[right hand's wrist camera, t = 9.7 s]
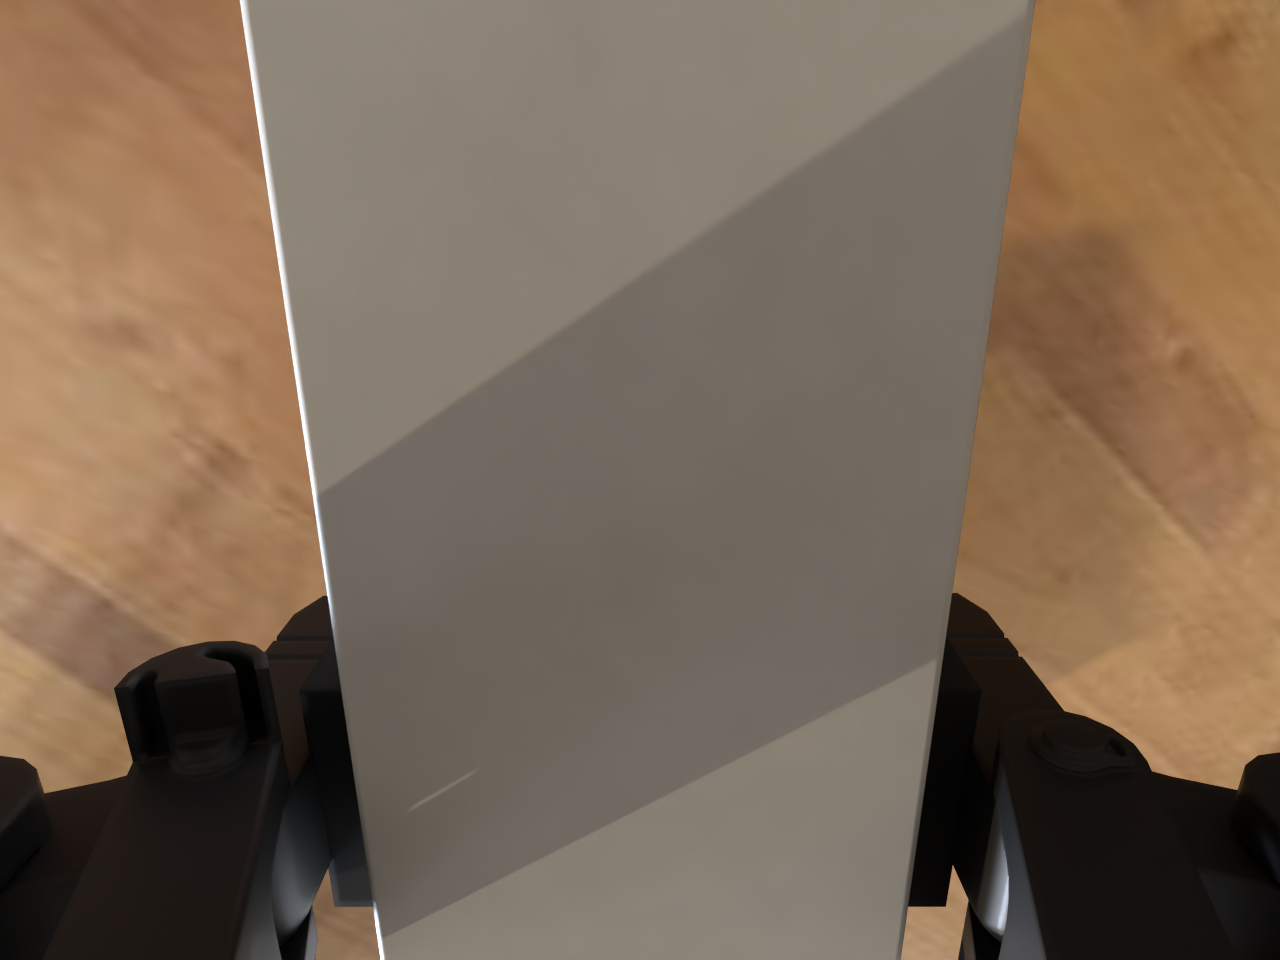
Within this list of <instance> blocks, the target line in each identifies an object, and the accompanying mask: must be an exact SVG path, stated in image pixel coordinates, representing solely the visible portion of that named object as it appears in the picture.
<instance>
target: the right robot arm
mask: <svg viewBox="0 0 1280 960" xmlns="http://www.w3.org/2000/svg"><path fill="white" fill-rule="evenodd" d="M114 690H115V694H116V698H117V702H118V706H119V709H120V713H121V717H122V721H123V725H124V729H125V733H126V736H127V740H128V744H129V748H130V752H131V756H132V760H133V764H132V766H131V768H130V770H129V772H128V774H127V776H123V777H120V778H116V779H112V780H108V781H104V782H99V783H94V784H89V785H84V786H79V787H74V788H69V789H65V790H60V791H55V792H50V793H45V794H44V792H43V788H42V785H41V782H40V779H39V775H38V772H37V769H36V768H35V767H33V766H32V765H31V764H29V763H28V762H27V761H26V760H24V759H19V758H12V757H5V756H0V960H315V957H316V949H317V940H318V938H317V931H316V924H315V918H314V912H313V907H312V903H313V901H314V898H315V896H316V894H317V892H318V889H319V887H320V885H321V883H322V880H323V878H324V876H325V874H326V871H327V869H328V868H329V874H330V880H331V886H332V892H333V898H334V904H335V907H373V902H372V895H371V889H370V882H369V875H368V868H367V861H366V855H365V848H364V841H363V834H362V827H361V821H360V814H359V807H358V800H357V793H356V787H355V780H354V773H353V766H352V759H351V753H350V746H349V739H348V732H347V725H346V719H345V712H344V705H343V698H342V691H341V684H340V678H339V671H338V664H337V657H336V650H335V644H334V637H333V630H332V623H331V616H330V610H329V603H328V596H322V597H321V598H319V599H318V600H316V601H315V602H313V603H311V604H310V605H308V606H307V607H305V608H304V609H302V610H300V611H299V612H297V613H296V614H294V615H293V617H292V618H291V619H290V620H289V622H288V623H287V624H286V626H285V627H284V628H283V629H282V631H281V632H280V633H279V635H278V636H277V641H273V642H272V644H271V645H270V646H269V648H268V649H267V650H266V652H265V653H264V652H263V651H262V650H260V649H259V648H258V647H256V646H255V645H251V644H246V643H242V642H237V641H214V642H204V643H199V644H195V645H190V646H185V647H180V648H177V649H175V650H172V651H169V652H167V653H164V654H162V655H159V656H156V657H154V658H151V659H150V660H148V661H146V662H145V663H143V664H141V665H140V666H138V667H137V668H135V669H133V670H132V671H130V672H128V674H127V675H126V676H125V677H124V678H123V679H122V680H121V681H120V682H119V683H118V685H117V686H116V687H115V688H114ZM952 866H954V868H955V870H956V873H957V875H958V877H959V879H960V881H961V884H962V886H963V888H964V890H965V893H966V895H967V897H968V899H969V901H968V907H967V912H966V918H965V924H964V929H963V935H962V940H961V946H960V951H959V957H958V960H1280V753H1272V754H1265V755H1258V756H1257V757H1256V758H1254V759H1253V760H1252V761H1250V762H1249V763H1248V764H1246V765H1245V768H1244V771H1243V775H1242V778H1241V781H1240V784H1239V788H1238V790H1234V789H1229V788H1224V787H1219V786H1214V785H1210V784H1205V783H1200V782H1195V781H1190V780H1185V779H1180V778H1175V777H1171V776H1167V775H1163V774H1160V773H1156V772H1152V771H1151V769H1150V766H1149V764H1148V762H1147V760H1146V759H1145V758H1144V756H1143V755H1142V754H1141V753H1140V751H1139V750H1138V749H1137V747H1136V746H1135V745H1134V744H1133V743H1132V742H1131V741H1129V740H1128V739H1126V738H1125V737H1124V736H1122V735H1121V734H1119V733H1118V732H1117V731H1115V730H1114V729H1113V728H1111V727H1108V726H1106V725H1104V724H1102V723H1099V722H1097V721H1095V720H1093V719H1090V718H1088V717H1086V716H1082V715H1078V714H1073V713H1069V712H1065V711H1064V710H1063V709H1062V707H1061V706H1060V705H1059V704H1058V702H1057V701H1056V700H1055V698H1054V697H1053V696H1052V695H1051V693H1050V692H1049V691H1048V690H1047V688H1046V687H1045V686H1044V684H1043V683H1042V682H1041V681H1040V679H1039V678H1038V677H1037V675H1036V674H1035V673H1034V672H1033V670H1032V669H1031V668H1030V666H1029V665H1028V664H1027V663H1026V661H1025V660H1024V659H1023V657H1019V656H1018V651H1017V650H1016V648H1015V647H1014V646H1013V645H1012V643H1011V642H1010V641H1009V639H1008V638H1004V633H1003V632H1002V630H1001V629H1000V628H999V627H998V625H997V624H996V623H995V621H994V620H993V619H992V618H991V616H990V615H989V614H988V612H986V611H985V610H983V609H982V608H980V607H979V606H977V605H975V604H974V603H972V602H971V601H969V600H967V599H966V598H964V597H963V596H961V595H960V594H958V593H952V597H951V604H950V611H949V618H948V625H947V632H946V640H945V647H944V654H943V661H942V668H941V675H940V682H939V689H938V696H937V704H936V711H935V718H934V725H933V732H932V739H931V746H930V753H929V760H928V768H927V775H926V782H925V789H924V796H923V803H922V810H921V817H920V824H919V832H918V839H917V846H916V853H915V860H914V867H913V874H912V881H911V888H910V896H909V903H908V907H946V901H947V895H948V889H949V884H950V878H951V872H952Z"/></svg>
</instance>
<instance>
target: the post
mask: <svg viewBox="0 0 1280 960" xmlns="http://www.w3.org/2000/svg"><path fill="white" fill-rule="evenodd" d="M240 4H241V11H242V18H243V25H244V31H245V38H246V45H247V52H248V59H249V65H250V72H251V79H252V86H253V93H254V99H255V106H256V113H257V120H258V127H259V133H260V140H261V147H262V154H263V161H264V167H265V174H266V181H267V188H268V195H269V201H270V208H271V215H272V222H273V229H274V235H275V242H276V249H277V256H278V263H279V269H280V276H281V283H282V290H283V297H284V303H285V310H286V317H287V324H288V331H289V338H290V344H291V351H292V358H293V365H294V372H295V378H296V385H297V392H298V399H299V406H300V412H301V419H302V426H303V433H304V440H305V446H306V453H307V460H308V467H309V474H310V480H311V487H312V494H313V501H314V508H315V514H316V521H317V528H318V535H319V542H320V548H321V555H322V562H323V569H324V576H325V582H326V589H327V596H328V603H329V610H330V616H331V623H332V630H333V637H334V644H335V650H336V657H337V664H338V671H339V678H340V684H341V691H342V698H343V705H344V712H345V719H346V725H347V732H348V739H349V746H350V753H351V759H352V766H353V773H354V780H355V787H356V793H357V800H358V807H359V814H360V821H361V827H362V834H363V841H364V848H365V855H366V861H367V868H368V875H369V882H370V889H371V895H372V902H373V909H374V916H375V923H376V929H377V936H378V943H379V950H380V957H381V960H901V952H902V945H903V938H904V931H905V924H906V917H907V910H908V903H909V896H910V888H911V881H912V874H913V867H914V860H915V853H916V846H917V839H918V832H919V824H920V817H921V810H922V803H923V796H924V789H925V782H926V775H927V768H928V760H929V753H930V746H931V739H932V732H933V725H934V718H935V711H936V704H937V696H938V689H939V682H940V675H941V668H942V661H943V654H944V647H945V640H946V632H947V625H948V618H949V611H950V604H951V597H952V590H953V583H954V576H955V568H956V561H957V554H958V547H959V540H960V533H961V526H962V519H963V512H964V504H965V497H966V490H967V483H968V476H969V469H970V462H971V455H972V448H973V440H974V433H975V426H976V419H977V412H978V405H979V398H980V391H981V384H982V376H983V369H984V362H985V355H986V348H987V341H988V334H989V327H990V320H991V312H992V305H993V298H994V291H995V284H996V277H997V270H998V263H999V256H1000V248H1001V241H1002V234H1003V227H1004V220H1005V213H1006V206H1007V199H1008V192H1009V184H1010V177H1011V170H1012V163H1013V156H1014V149H1015V142H1016V135H1017V128H1018V120H1019V113H1020V106H1021V99H1022V92H1023V85H1024V78H1025V71H1026V64H1027V56H1028V49H1029V42H1030V35H1031V28H1032V21H1033V14H1034V7H1035V0H240Z"/></svg>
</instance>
